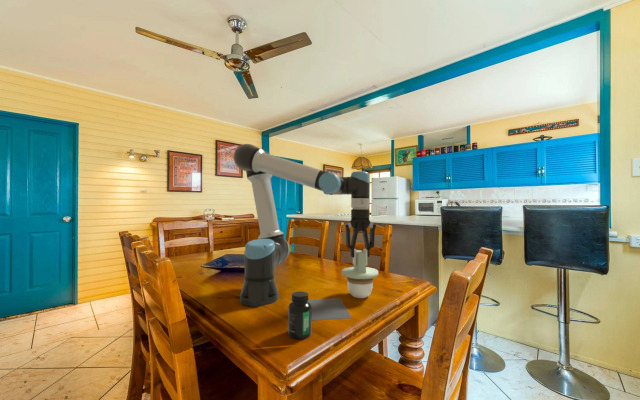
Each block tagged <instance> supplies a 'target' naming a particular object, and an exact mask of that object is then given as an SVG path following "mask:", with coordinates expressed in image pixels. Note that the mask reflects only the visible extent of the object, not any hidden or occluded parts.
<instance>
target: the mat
mask: <svg viewBox="0 0 640 400" xmlns="http://www.w3.org/2000/svg"><path fill="white" fill-rule="evenodd" d="M308 302H309V303H310V304H311V306H312V321H327V320H329V321H330V320H342V319H353V318H352V316H351V314H350V312H349V310H348V309H347V307H346V306H345V304H344V303H343V301H342V299H341V298H340V297H338V298H337V297H336V298H319V299H318V298H317V299H309V300H308Z"/></svg>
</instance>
